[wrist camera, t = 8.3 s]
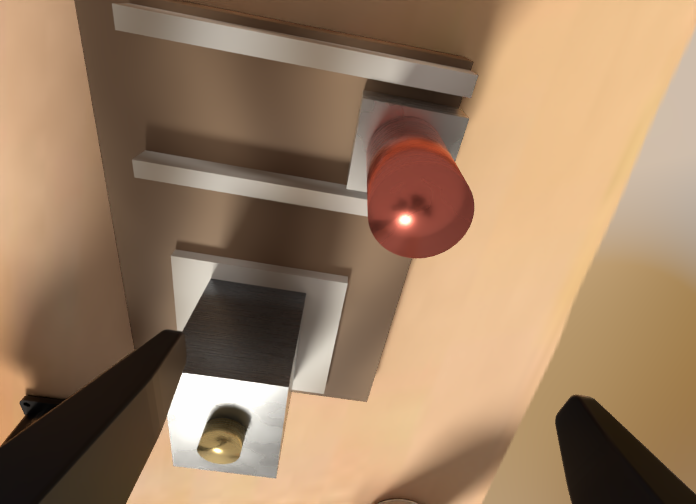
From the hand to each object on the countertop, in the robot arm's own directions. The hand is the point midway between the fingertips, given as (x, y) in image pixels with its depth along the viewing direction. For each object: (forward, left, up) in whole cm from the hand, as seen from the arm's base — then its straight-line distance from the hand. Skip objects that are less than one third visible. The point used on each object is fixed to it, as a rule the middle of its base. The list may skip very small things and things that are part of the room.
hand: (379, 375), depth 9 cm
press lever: (+1, +2, -11) cm, 11 cm away
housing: (-5, -10, -10) cm, 15 cm away
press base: (-5, -5, -12) cm, 14 cm away
